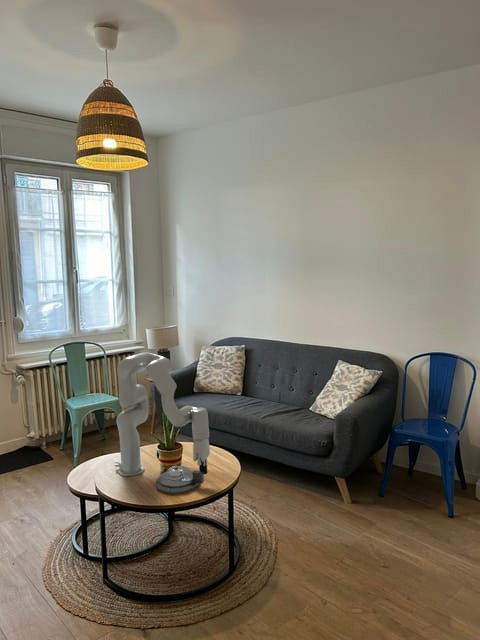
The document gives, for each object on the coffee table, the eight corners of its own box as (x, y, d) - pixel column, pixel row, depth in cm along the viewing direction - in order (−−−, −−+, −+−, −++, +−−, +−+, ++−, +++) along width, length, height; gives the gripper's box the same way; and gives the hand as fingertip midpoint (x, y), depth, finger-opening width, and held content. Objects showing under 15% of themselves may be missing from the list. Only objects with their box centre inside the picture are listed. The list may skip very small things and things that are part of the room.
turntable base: (148, 491, 216) (148, 486, 216) (167, 473, 235) (167, 468, 235) (189, 496, 210) (188, 491, 210) (205, 477, 229) (205, 472, 229)
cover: (164, 476, 222) (164, 468, 222) (179, 472, 227) (178, 463, 226) (172, 482, 216) (172, 473, 216) (187, 477, 221) (186, 468, 220)
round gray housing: (152, 479, 223) (151, 469, 223) (182, 468, 234) (182, 458, 234) (175, 493, 208) (175, 482, 207) (207, 481, 219) (206, 471, 218)
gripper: (199, 429, 227) (201, 466, 229) (187, 440, 213) (190, 479, 214) (213, 429, 225) (216, 467, 227) (203, 441, 211) (205, 480, 212)
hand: (203, 473), depth 221 cm, fingers closed
